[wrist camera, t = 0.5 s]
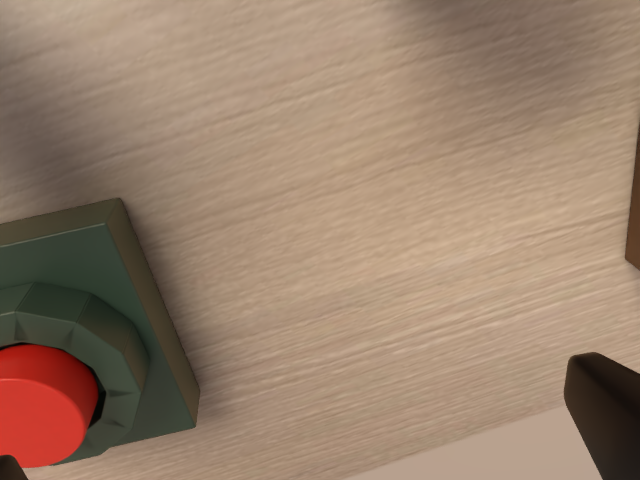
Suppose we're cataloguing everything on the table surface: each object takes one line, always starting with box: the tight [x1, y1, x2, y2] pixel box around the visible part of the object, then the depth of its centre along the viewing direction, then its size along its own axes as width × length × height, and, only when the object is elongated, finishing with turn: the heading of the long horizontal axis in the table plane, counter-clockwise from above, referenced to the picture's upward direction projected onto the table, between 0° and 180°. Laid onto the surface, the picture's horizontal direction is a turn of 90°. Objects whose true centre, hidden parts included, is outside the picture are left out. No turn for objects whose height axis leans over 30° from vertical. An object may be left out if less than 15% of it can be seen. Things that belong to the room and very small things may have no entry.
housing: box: [0, 198, 200, 466], centre depth 20 cm, size 10×8×4 cm
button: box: [0, 344, 98, 468], centre depth 18 cm, size 4×4×2 cm
